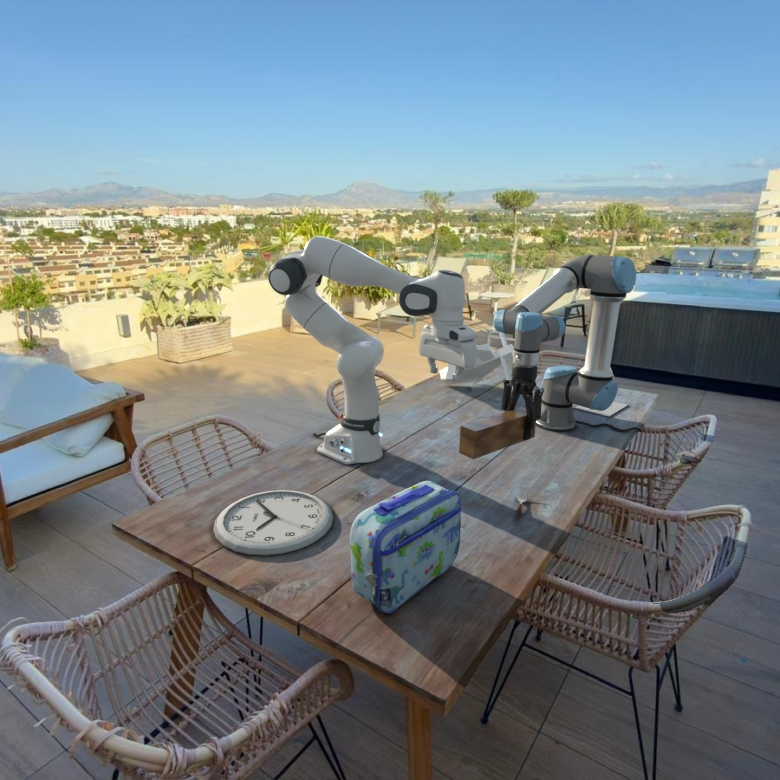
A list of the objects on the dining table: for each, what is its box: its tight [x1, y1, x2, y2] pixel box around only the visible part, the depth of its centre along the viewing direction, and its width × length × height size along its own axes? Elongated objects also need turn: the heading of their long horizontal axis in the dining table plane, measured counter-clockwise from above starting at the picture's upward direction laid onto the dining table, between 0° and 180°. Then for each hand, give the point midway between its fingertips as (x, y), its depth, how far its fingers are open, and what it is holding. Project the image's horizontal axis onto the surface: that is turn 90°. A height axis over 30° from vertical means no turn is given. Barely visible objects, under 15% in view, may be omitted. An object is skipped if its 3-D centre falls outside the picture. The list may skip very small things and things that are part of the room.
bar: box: [458, 406, 537, 460], centre depth 157 cm, size 28×6×8 cm, turn 128°
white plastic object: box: [438, 310, 528, 396], centre depth 245 cm, size 37×45×31 cm
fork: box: [516, 487, 529, 521], centre depth 143 cm, size 3×16×2 cm, turn 160°
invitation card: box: [573, 400, 629, 418], centre depth 226 cm, size 21×1×15 cm
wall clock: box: [212, 489, 334, 556], centre depth 134 cm, size 30×2×30 cm
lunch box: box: [349, 480, 462, 614], centre depth 109 cm, size 26×11×21 cm, turn 134°
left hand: (444, 376), depth 151 cm, fingers open, 8 cm apart
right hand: (518, 436), depth 164 cm, fingers closed on bar, 6 cm apart
